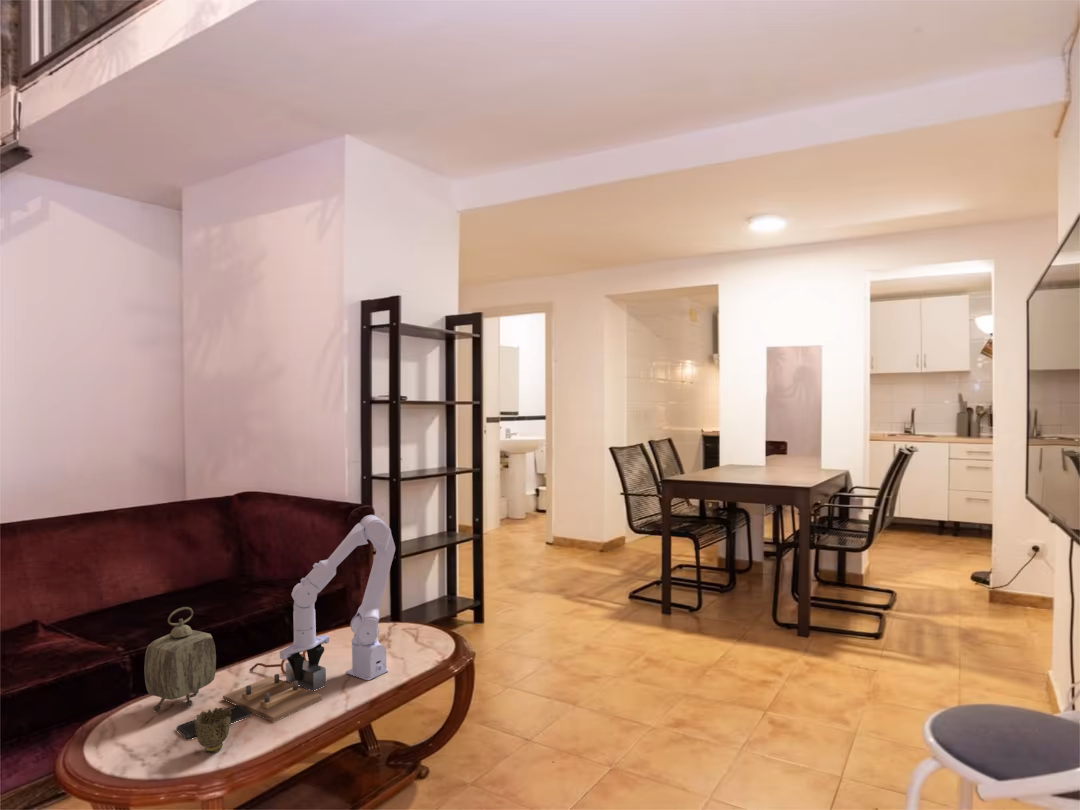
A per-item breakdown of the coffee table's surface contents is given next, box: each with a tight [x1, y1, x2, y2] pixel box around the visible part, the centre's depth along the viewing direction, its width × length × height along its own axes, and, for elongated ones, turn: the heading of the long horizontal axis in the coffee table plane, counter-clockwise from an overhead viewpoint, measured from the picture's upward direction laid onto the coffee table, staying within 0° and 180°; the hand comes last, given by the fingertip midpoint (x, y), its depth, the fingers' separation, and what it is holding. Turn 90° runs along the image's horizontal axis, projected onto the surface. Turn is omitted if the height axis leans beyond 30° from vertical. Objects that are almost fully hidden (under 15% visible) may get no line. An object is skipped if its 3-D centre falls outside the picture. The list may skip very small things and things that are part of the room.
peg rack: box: [222, 673, 323, 723], centre depth 173 cm, size 22×14×4 cm, turn 56°
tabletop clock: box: [143, 606, 217, 713], centre depth 171 cm, size 14×9×25 cm, turn 154°
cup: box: [193, 707, 231, 754], centre depth 149 cm, size 8×7×8 cm
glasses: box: [250, 650, 309, 675], centre depth 196 cm, size 13×13×5 cm
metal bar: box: [285, 660, 327, 692], centre depth 183 cm, size 12×4×5 cm, turn 56°
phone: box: [176, 705, 251, 740], centre depth 161 cm, size 8×1×15 cm
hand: (305, 676), depth 183 cm, fingers closed on metal bar, 4 cm apart
